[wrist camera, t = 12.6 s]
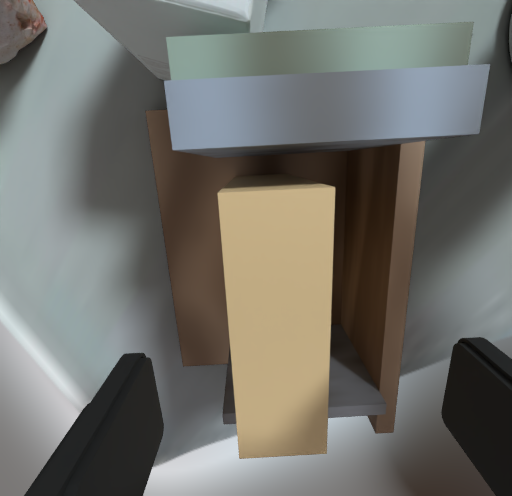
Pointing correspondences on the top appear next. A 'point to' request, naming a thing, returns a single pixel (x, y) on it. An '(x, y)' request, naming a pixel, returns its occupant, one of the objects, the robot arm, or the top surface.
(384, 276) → the shelf
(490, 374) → the robot arm
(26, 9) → the food item
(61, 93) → the top surface
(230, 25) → the supplement box
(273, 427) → the book
